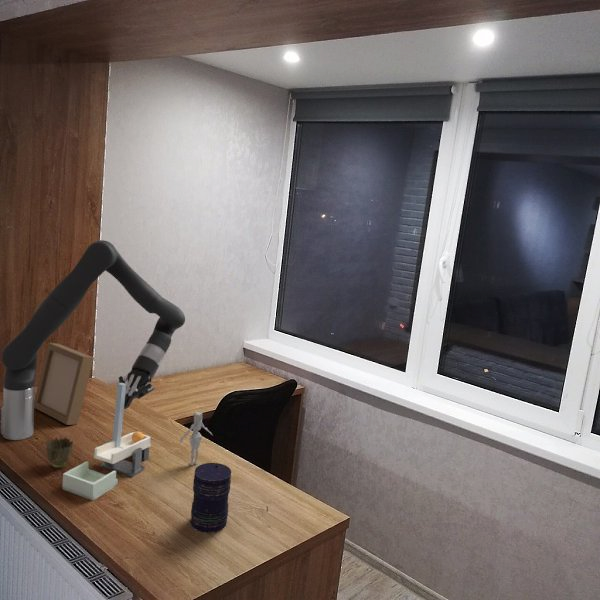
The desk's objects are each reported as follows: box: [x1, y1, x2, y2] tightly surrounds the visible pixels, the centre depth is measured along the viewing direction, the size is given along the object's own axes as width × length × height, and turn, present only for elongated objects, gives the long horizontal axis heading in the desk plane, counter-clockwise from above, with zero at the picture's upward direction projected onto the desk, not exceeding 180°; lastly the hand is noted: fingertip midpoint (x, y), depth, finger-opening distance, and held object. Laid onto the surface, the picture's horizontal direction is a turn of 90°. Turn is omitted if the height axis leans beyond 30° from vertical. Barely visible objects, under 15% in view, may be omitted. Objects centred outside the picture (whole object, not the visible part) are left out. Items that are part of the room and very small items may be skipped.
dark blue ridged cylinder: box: [190, 462, 232, 534], centre depth 151 cm, size 10×10×15 cm
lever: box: [93, 383, 153, 464], centre depth 174 cm, size 9×18×21 cm, turn 158°
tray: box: [62, 460, 119, 502], centre depth 163 cm, size 11×10×5 cm
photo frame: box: [34, 342, 94, 426], centre depth 210 cm, size 15×22×25 cm
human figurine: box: [178, 411, 213, 467], centre depth 181 cm, size 12×4×18 cm, turn 130°
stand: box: [100, 439, 150, 478], centre depth 178 cm, size 12×12×8 cm
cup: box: [45, 437, 73, 470], centre depth 172 cm, size 8×7×8 cm
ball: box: [132, 431, 144, 443], centre depth 181 cm, size 4×4×4 cm
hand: (122, 407), depth 176 cm, fingers closed
